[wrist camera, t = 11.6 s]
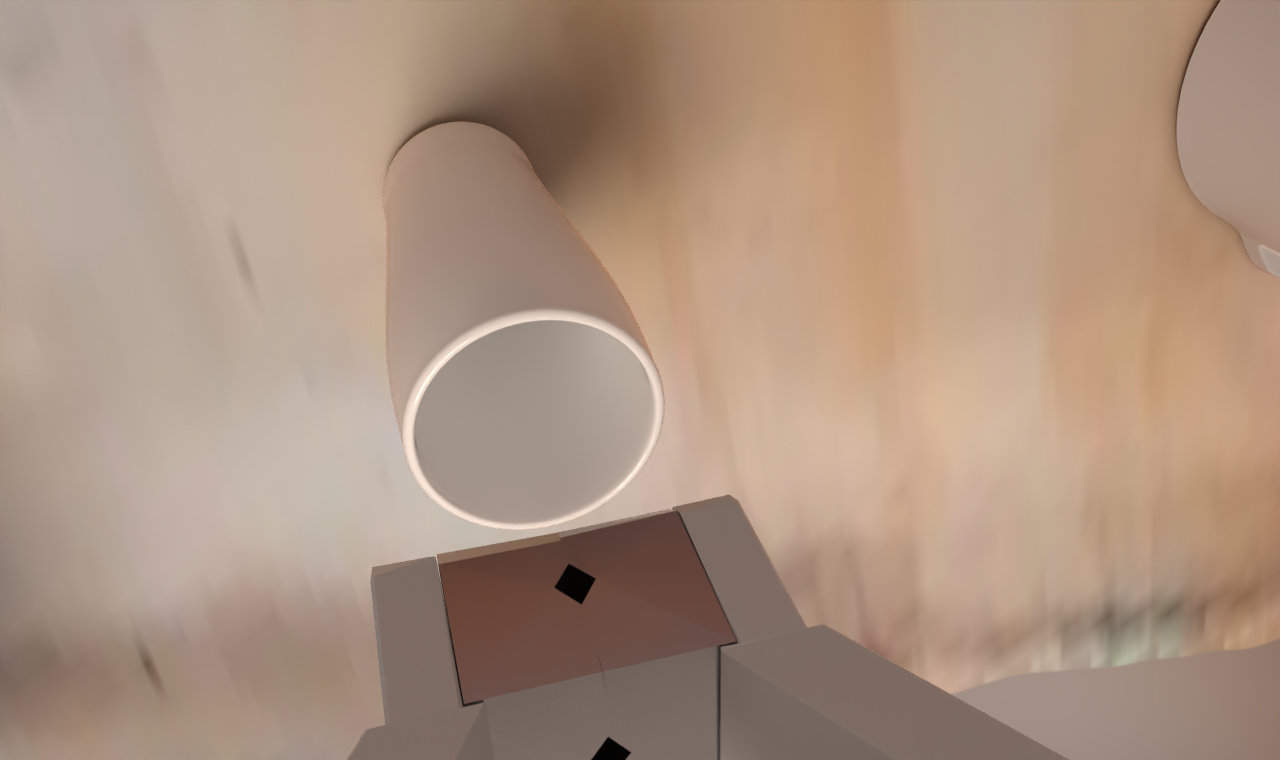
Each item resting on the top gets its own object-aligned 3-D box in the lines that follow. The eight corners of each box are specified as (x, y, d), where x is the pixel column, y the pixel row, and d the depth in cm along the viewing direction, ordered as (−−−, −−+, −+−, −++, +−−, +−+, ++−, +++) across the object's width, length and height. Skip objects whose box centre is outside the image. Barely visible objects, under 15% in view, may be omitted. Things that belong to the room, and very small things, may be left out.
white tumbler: (441, 53, 38) (521, 255, 26) (591, 170, 42) (722, 395, 30) (319, 206, 40) (341, 463, 28) (473, 306, 43) (552, 571, 31)
